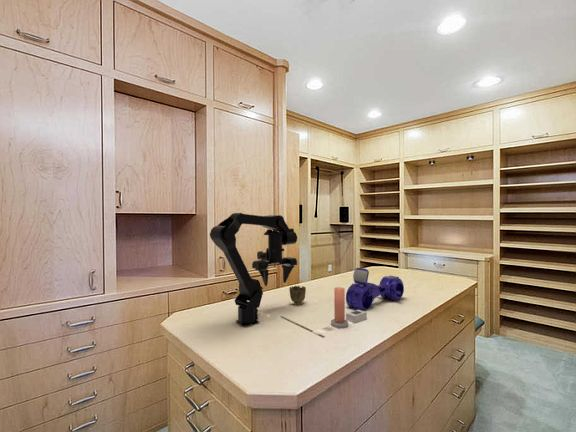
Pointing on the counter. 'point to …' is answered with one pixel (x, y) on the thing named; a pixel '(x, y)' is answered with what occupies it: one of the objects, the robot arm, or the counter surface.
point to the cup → (297, 294)
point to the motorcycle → (372, 290)
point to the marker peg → (339, 308)
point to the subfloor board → (317, 332)
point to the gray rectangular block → (356, 316)
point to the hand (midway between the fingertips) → (275, 284)
